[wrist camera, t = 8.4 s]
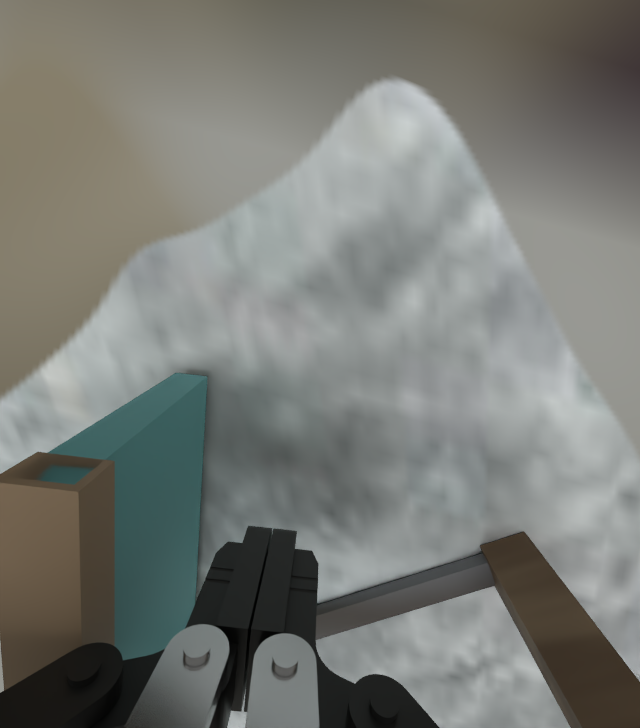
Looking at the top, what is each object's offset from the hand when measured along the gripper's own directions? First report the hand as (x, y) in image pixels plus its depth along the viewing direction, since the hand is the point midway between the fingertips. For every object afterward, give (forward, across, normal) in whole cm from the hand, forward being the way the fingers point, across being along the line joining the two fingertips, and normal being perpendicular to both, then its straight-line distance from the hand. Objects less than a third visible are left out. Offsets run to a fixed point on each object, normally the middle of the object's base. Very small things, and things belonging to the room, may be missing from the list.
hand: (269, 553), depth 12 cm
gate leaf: (+4, +4, +3) cm, 6 cm away
